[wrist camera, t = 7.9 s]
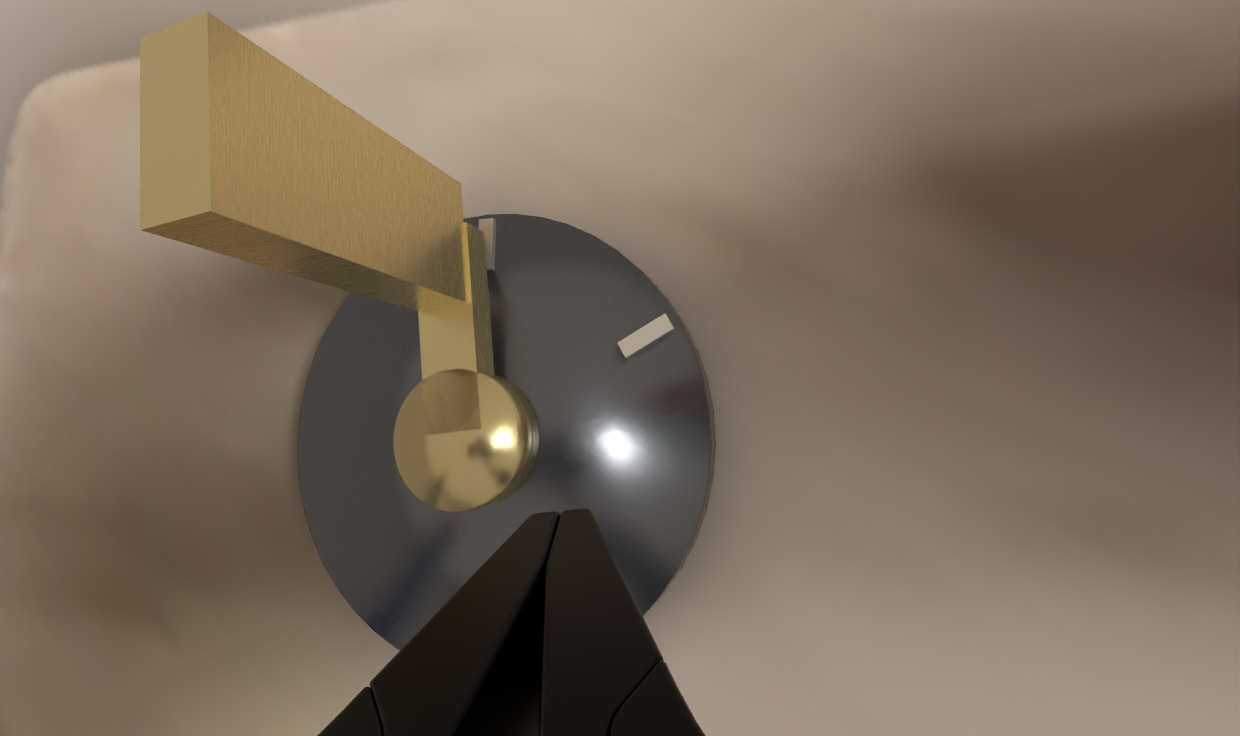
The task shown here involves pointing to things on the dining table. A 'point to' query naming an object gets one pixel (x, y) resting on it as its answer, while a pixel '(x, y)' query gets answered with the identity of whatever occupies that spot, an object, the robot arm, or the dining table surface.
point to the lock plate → (566, 414)
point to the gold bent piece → (336, 236)
